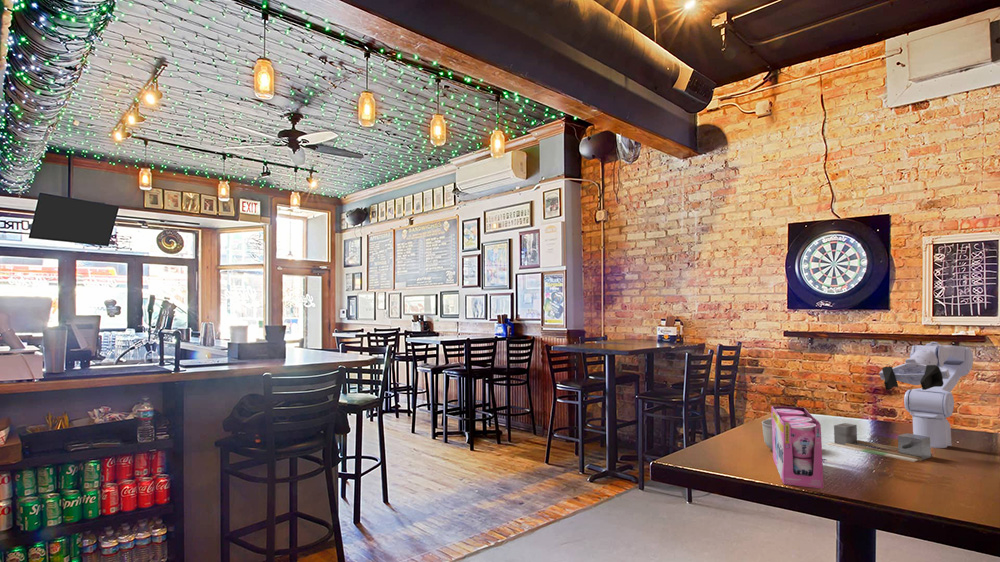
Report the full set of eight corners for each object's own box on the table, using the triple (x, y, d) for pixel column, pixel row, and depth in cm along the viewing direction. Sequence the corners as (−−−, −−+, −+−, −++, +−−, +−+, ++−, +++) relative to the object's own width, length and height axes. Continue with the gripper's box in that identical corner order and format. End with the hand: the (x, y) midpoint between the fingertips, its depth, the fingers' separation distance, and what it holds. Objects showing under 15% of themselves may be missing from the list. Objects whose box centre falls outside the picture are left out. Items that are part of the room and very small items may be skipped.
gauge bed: (845, 442, 154) (844, 420, 154) (939, 461, 135) (938, 436, 135) (823, 448, 147) (822, 425, 147) (918, 468, 129) (917, 442, 129)
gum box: (826, 491, 112) (824, 426, 113) (783, 487, 115) (782, 423, 116) (807, 461, 135) (805, 407, 135) (771, 458, 137) (770, 405, 138)
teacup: (814, 458, 138) (813, 426, 138) (768, 455, 140) (768, 424, 140) (795, 444, 151) (795, 416, 152) (754, 443, 153) (753, 414, 154)
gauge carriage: (907, 452, 138) (906, 433, 138) (930, 457, 134) (930, 437, 134) (892, 457, 133) (891, 437, 134) (916, 462, 129) (915, 441, 129)
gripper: (883, 354, 148) (867, 371, 140) (948, 351, 137) (935, 369, 129) (890, 378, 149) (874, 397, 140) (956, 377, 137) (943, 397, 129)
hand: (904, 385), depth 134 cm, fingers open, 7 cm apart
